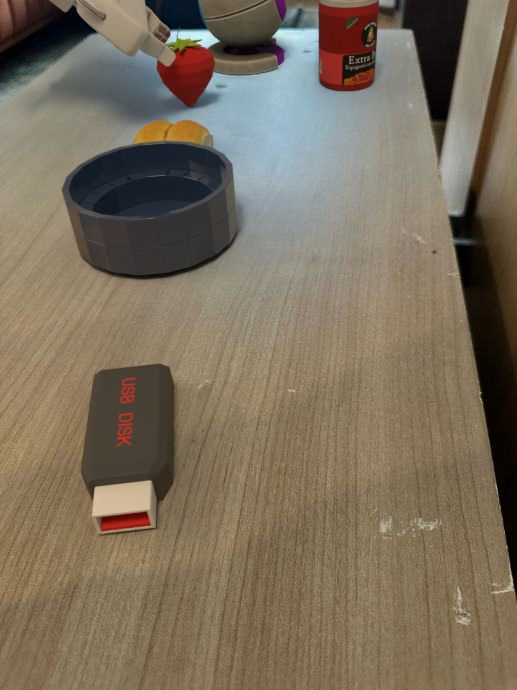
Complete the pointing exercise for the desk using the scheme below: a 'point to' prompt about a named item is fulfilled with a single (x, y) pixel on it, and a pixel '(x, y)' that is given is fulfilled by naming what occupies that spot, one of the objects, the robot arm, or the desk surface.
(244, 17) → the webcam
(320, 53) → the canned food
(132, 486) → the usb drive
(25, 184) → the desk surface
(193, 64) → the strawberry
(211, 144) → the bread roll
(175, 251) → the bowl
